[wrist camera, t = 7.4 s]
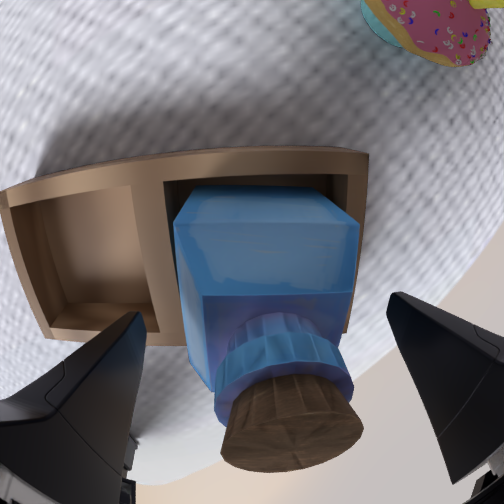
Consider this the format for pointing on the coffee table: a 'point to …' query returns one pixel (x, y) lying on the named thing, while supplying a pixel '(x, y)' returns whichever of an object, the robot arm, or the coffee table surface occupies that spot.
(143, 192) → the wooden divided tray
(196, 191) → the perfume bottle
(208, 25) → the coffee table surface
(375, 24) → the cupcake
